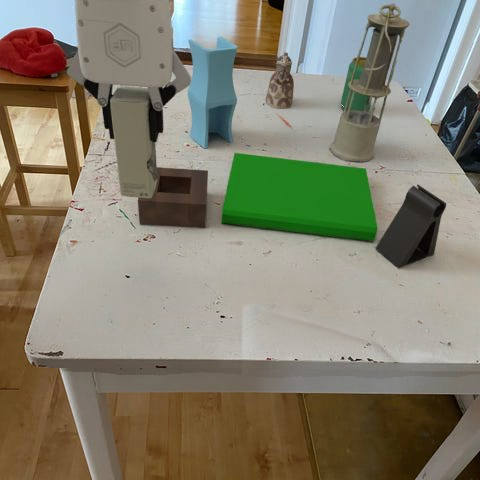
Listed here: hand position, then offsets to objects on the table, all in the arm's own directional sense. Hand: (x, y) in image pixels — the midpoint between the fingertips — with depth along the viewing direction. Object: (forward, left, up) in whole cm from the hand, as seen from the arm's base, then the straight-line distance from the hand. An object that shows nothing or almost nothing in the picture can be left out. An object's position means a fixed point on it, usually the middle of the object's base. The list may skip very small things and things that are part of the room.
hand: (135, 134), depth 60 cm
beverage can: (+48, +72, -23) cm, 90 cm away
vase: (+9, +48, -23) cm, 54 cm away
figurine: (+27, +72, -23) cm, 80 cm away
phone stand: (+45, +8, -23) cm, 51 cm away
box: (0, 0, -8) cm, 8 cm away
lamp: (+42, +45, -23) cm, 66 cm away
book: (+27, +23, -23) cm, 42 cm away
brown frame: (+3, +18, -22) cm, 29 cm away
